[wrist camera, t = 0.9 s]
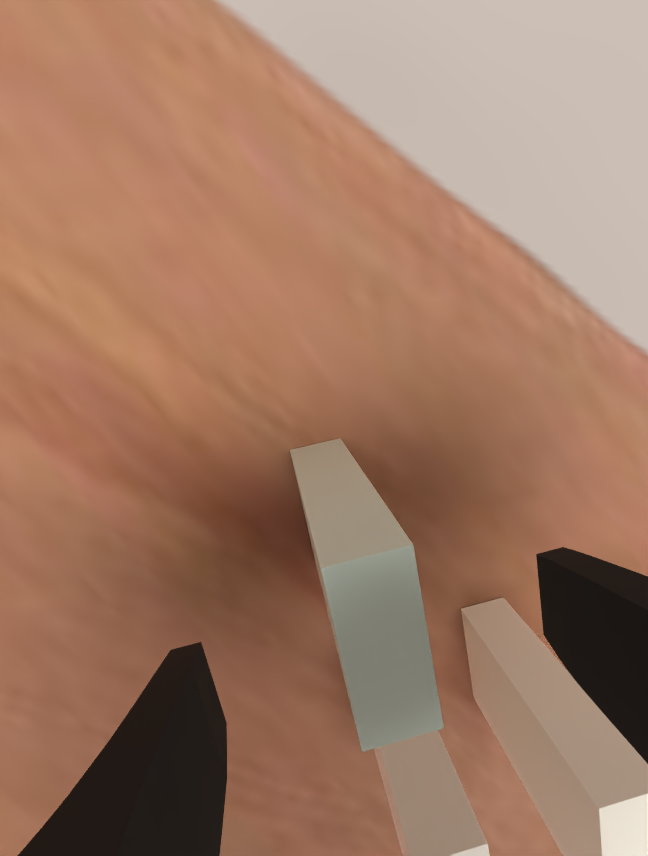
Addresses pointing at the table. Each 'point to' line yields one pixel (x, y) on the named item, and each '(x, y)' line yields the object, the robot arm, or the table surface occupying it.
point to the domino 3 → (556, 738)
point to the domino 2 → (428, 799)
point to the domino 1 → (369, 597)
